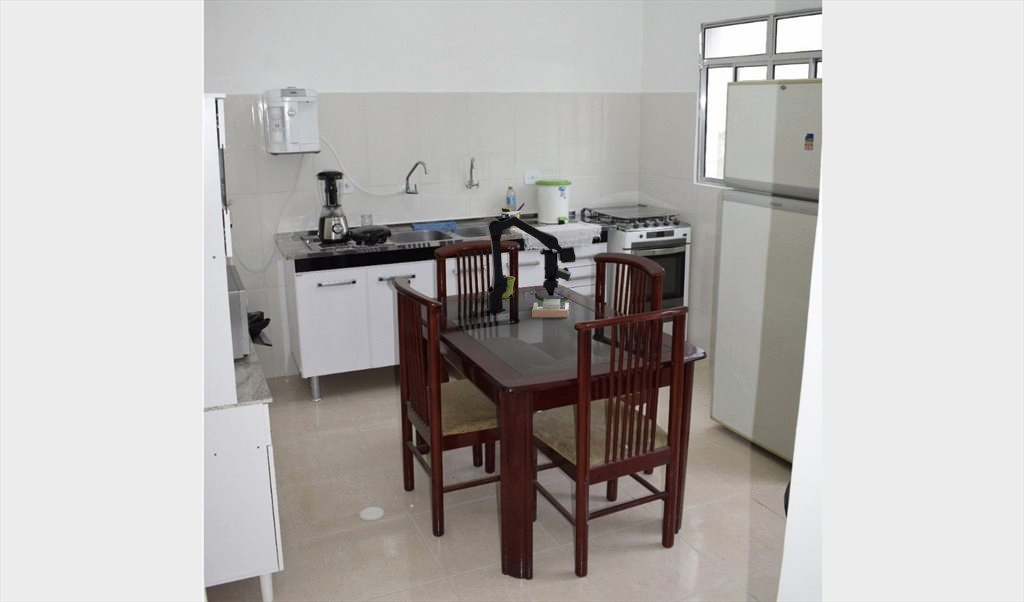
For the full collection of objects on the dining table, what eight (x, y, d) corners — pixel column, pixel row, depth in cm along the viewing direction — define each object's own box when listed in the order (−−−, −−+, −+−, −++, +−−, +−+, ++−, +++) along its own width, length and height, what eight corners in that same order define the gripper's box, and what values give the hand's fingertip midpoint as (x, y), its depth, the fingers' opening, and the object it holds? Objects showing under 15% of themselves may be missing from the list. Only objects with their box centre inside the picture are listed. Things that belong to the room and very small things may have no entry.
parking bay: (534, 307, 343) (534, 300, 342) (568, 307, 341) (568, 300, 341) (532, 317, 328) (531, 310, 327) (568, 317, 327) (567, 310, 326)
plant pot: (515, 299, 357) (515, 280, 354) (494, 299, 357) (494, 281, 355) (515, 293, 366) (515, 275, 363) (495, 294, 366) (494, 276, 364)
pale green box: (544, 307, 342) (543, 295, 340) (560, 307, 341) (560, 295, 340) (543, 313, 332) (542, 301, 331) (559, 313, 332) (559, 301, 330)
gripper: (569, 268, 328) (569, 304, 332) (570, 258, 346) (570, 293, 350) (542, 268, 329) (543, 304, 333) (544, 259, 347) (545, 293, 351)
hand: (551, 298), depth 342 cm, fingers closed
